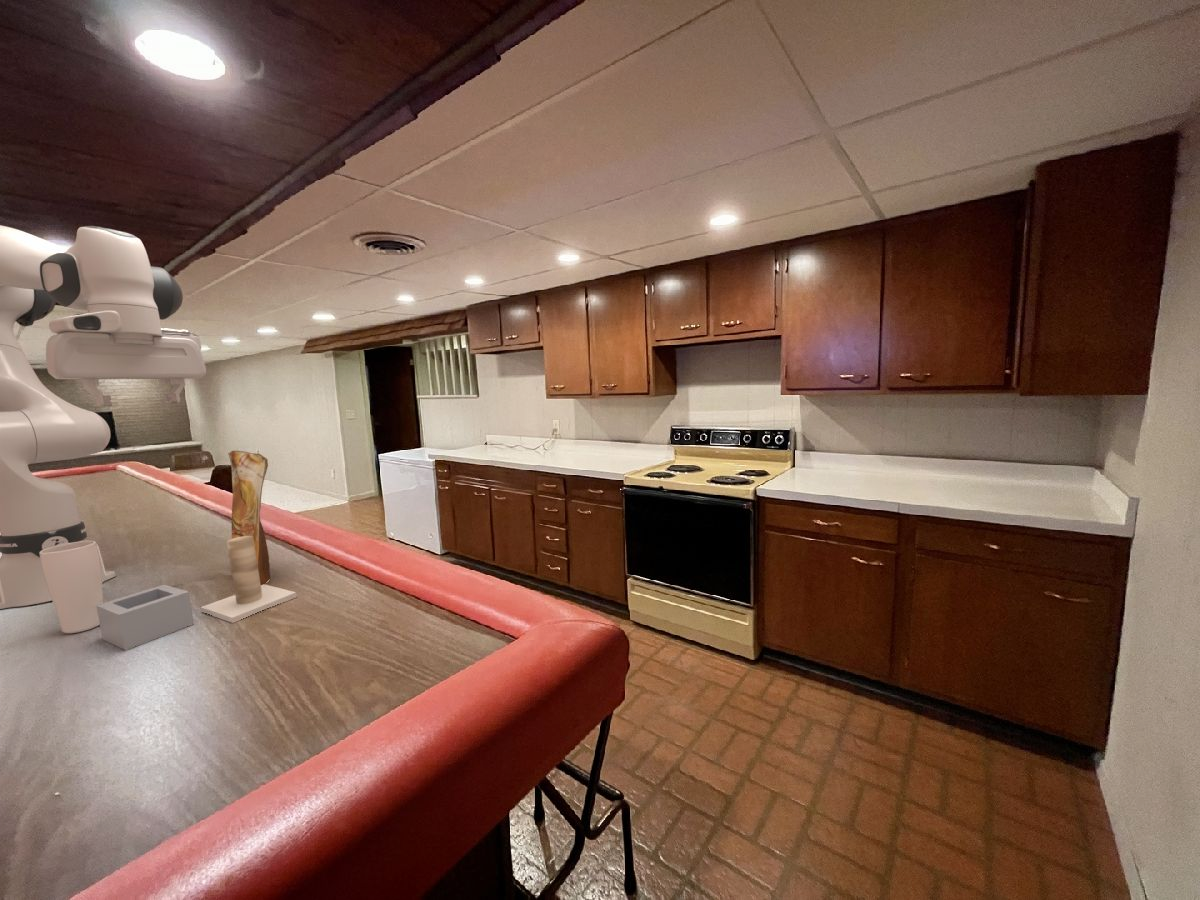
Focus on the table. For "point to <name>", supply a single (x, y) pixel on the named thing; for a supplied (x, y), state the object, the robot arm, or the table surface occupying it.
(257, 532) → the pancake mix bag
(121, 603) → the grey square frame
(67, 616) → the drinking glass
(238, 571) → the birch pin
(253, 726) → the table surface
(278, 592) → the square mat
